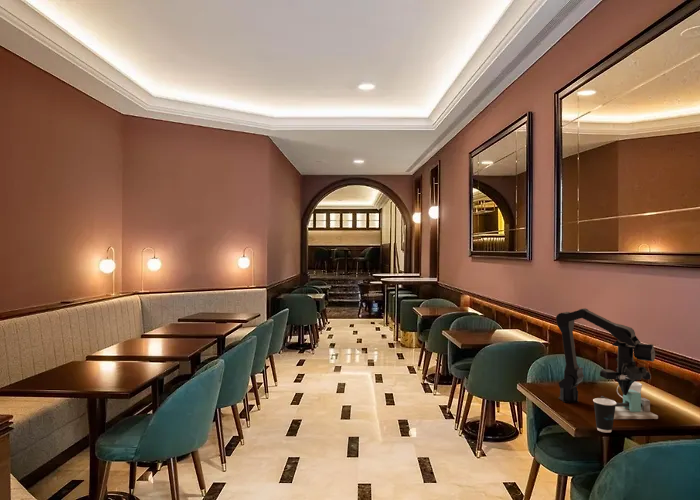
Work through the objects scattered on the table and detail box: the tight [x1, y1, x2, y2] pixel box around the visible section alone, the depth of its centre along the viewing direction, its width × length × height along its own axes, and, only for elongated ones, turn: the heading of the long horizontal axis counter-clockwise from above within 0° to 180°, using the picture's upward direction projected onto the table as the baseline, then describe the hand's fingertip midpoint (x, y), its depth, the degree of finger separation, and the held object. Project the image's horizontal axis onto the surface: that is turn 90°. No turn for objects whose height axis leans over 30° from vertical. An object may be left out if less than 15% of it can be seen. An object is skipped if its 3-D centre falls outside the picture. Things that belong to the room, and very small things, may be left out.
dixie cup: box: [592, 397, 618, 433], centre depth 189 cm, size 8×8×11 cm
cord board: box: [600, 395, 659, 420], centre depth 209 cm, size 18×14×6 cm
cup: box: [616, 381, 643, 399], centre depth 226 cm, size 7×10×8 cm
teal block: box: [622, 390, 642, 412], centre depth 209 cm, size 4×6×7 cm
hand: (624, 395), depth 208 cm, fingers closed
